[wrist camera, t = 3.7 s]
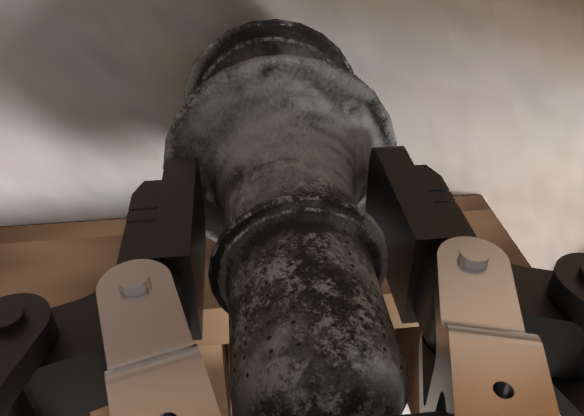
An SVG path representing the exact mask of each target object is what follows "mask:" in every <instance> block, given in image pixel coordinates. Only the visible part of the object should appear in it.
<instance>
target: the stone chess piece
mask: <svg viewBox="0 0 584 416" xmlns="http://www.w3.org/2000/svg"><path fill="white" fill-rule="evenodd" d="M390 146H397V142H396V138H395V134H394V130H393V126H392V122H391V118H390V116H389V114H388V113H387V111H386V110H385V108H384V106H383V105H382V103H381V101H380V100H379V98H378V97H377V95H376V93H375V92H374V91H373V90H372V89H371V88H369V87H368V86H367V85H366V84H365V83H364V82H363V81H361V80H360V79H359V78H358V77H357V76H356V75H354V74H353V70H352V68H351V66H350V64H349V63H348V61H347V60H346V58H345V56H344V55H343V53H342V52H341V50H340V49H339V48H338V47H337V46H336V45H335V44H334V43H333V42H331V41H330V40H329V39H328V38H327V37H326V36H325V35H323V34H322V33H320V32H318V31H316V30H314V29H312V28H310V27H307V26H305V25H303V24H301V23H296V22H290V21H284V20H279V19H273V20H262V21H252V22H249V23H246V24H244V25H241V26H238V27H236V28H233V29H230V30H228V31H227V32H225V33H224V34H222V35H221V36H220V37H218V38H217V39H215V40H214V41H213V42H211V43H210V44H209V45H208V46H207V47H206V48H205V50H204V51H203V52H202V53H201V55H200V56H199V57H198V58H197V60H196V61H195V62H194V64H193V67H192V69H191V71H190V74H189V76H188V79H187V81H186V84H185V94H184V104H183V105H182V106H181V107H180V108H179V110H178V111H177V113H176V115H175V117H174V120H173V122H172V125H171V127H170V130H169V132H168V134H167V137H166V140H165V152H164V164H165V160H166V159H172V158H189V157H197V158H198V163H199V170H200V178H201V186H202V195H203V203H204V211H205V224H206V237H207V238H209V239H211V240H212V241H214V242H216V244H215V246H214V248H213V250H212V252H211V256H210V263H209V269H208V276H209V282H210V287H211V292H212V293H213V295H214V297H215V299H216V300H217V302H218V304H219V305H220V307H221V308H222V309H223V310H224V311H225V312H226V313H228V314H229V365H230V398H231V403H232V408H233V412H234V416H393V415H402V413H403V411H404V409H405V407H406V404H407V401H408V393H409V380H408V370H407V367H406V364H405V361H404V357H403V354H402V351H401V348H400V345H399V342H398V339H397V336H396V333H395V330H394V327H393V324H392V321H391V318H390V315H389V312H388V309H387V306H386V303H385V300H384V297H383V294H382V291H381V286H382V283H383V281H384V279H385V276H386V274H387V271H388V261H389V250H388V247H387V243H386V240H385V236H384V233H383V231H382V230H381V229H380V227H379V226H378V224H377V223H376V222H375V220H374V219H373V217H372V216H370V215H369V214H368V213H366V191H367V180H368V169H369V158H370V152H371V149H372V148H373V147H390ZM163 169H164V165H163Z"/></svg>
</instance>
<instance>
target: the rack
mask: <svg viewBox="0 0 584 416" xmlns="http://www.w3.org/2000/svg"><path fill="white" fill-rule="evenodd" d="M453 197H454V199H455V203H457V204H458V205H459V207H460V209H461V211H462V212H463V214H464V216H465V217H466V219H467V221H468V222H469V224H470V226H471V227H472V229H473V231H474V233H475V234H476V236H477V238H481V239H484V240H487V241H489V242H491V243H493V244H495V245H496V246H498V247H499V248H500V249H502V250H503V251H504V252H505V253H506V255H507V256H508V258H509V261H510V263H511V264H515V265H518V266H523V267H530V268H532V267H531V266H530V265H529V263H528V262H527V260H526V259H525V257H524V256H523V254H522V253H521V252H520V250H519V249H518V247H517V246H516V244H515V243H514V241H513V240H512V239H511V237H510V236H509V234H508V233H507V231H506V230H505V229H504V227H503V226H502V224H501V223H500V221H499V220H498V218H497V217H496V216H495V214H494V213H493V211H492V210H491V208H490V207H489V206H488V204H487V203H486V201H485V200H484V198H483V197H482V195H468V196H453ZM125 224H126V219H112V220H98V221H83V222H68V223H53V224H38V225H24V226H9V227H0V298H1V297H3V296H7V295H11V294H16V293H32V294H36V295H39V296H41V297H43V298H44V299H45V300H46V301H47V302H48V303H49V305H50V308H52V307H56V306H59V305H62V304H65V303H69V302H72V301H75V300H78V299H81V298H84V297H86V296H88V295H90V294H92V293H94V292H95V291H96V286H97V283H98V281H99V280H100V278H101V277H102V276H103V275H104V274H105V273H106V272H107V271H108V270H109V269H111V268H112V267H114V266H116V263H117V259H118V254H119V250H120V246H121V241H122V237H123V232H124V228H125ZM215 244H216V242H214V241H212V240H211V239H209V238H207V237H206V246H205V276H204V305H203V334H202V340H193V343H194V344H197V345H198V347H199V350H200V352H201V355H202V358H203V361H204V364H205V368H206V371H207V374H208V377H209V380H210V383H211V386H212V389H213V392H214V395H215V398H216V401H217V404H218V407H219V410H220V413H221V416H234V412H233V408H232V403H231V398H230V365H229V314H228V313H226V312H225V311H224V310H223V309H222V308H221V307H220V305H219V304H218V302H217V300H216V299H215V297H214V295H213V293H212V292H211V287H210V282H209V276H208V269H209V263H210V256H211V252H212V250H213V248H214V246H215ZM381 291H382V294H383V297H384V300H385V303H386V306H387V309H388V312H389V315H390V318H391V321H392V324H393V327H394V330H395V333H396V336H397V339H398V342H399V345H400V348H401V351H402V354H403V357H404V361H405V364H406V367H407V370H408V380H409V393H408V401H407V403H408V406H409V409H410V412H411V414H414V413H420V400H419V341H420V336H421V329H420V326H419V323H418V322H417V323H405V324H402V322H401V319H400V316H399V313H398V311H397V308H396V305H395V302H394V299H393V296H392V293H391V290H390V288H389V285H388V282H387V279H386V276H385V279H384V281H383V283H382V286H381ZM85 416H110V411H109V405H108V406H105V407H103V408H100V409H97V410H95V411H92V412H89V413H87V414H85Z"/></svg>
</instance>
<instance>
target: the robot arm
mask: <svg viewBox="0 0 584 416" xmlns="http://www.w3.org/2000/svg"><path fill="white" fill-rule="evenodd" d="M366 213H368V214H369V215H370V216H372V217H373V219H374V220H375V222H376V223H377V224H378V226H379V227H380V229H381V230H382V231H383V233H384V236H385V240H386V243H387V247H388V250H389V261H388V271H387V274H386V279H387V282H388V285H389V288H390V290H391V293H392V296H393V299H394V302H395V305H396V308H397V311H398V313H399V316H400V319H401V322H402V324H405V323H417V322H418V323H419V326H420V329H421V336H420V341H419V400H420V413H414V414H403V415H393V416H560V415H561V416H584V253H572V254H567V255H565V256H563V257H561V258H560V259H558V261H557V262H556V264H555V267H554V270H553V271H549V270H543V269H536V268H530V267H523V266H518V265H515V264H511V263H510V261H509V258H508V256H507V255H506V253H505V252H504V251H503V250H502V249H500V248H499V247H498V246H496V245H495V244H493V243H491V242H489V241H487V240H484V239H481V238H477V236H476V234H475V233H474V231H473V229H472V227H471V226H470V224H469V222H468V221H467V219H466V217H465V216H464V214H463V212H462V211H461V209H460V207H459V205H458V204H457V203H455V199H454V197H453V195H452V194H451V192H449V188H448V187H447V185H446V183H445V182H444V180H443V178H442V177H441V176H440V175H439V174H438V173H436V172H435V171H434V170H432V169H431V168H430V167H428V166H427V165H414V164H413V162H412V160H411V158H410V156H409V154H408V153H407V151H406V149H405V147H404V146H390V147H373V148H372V149H371V152H370V158H369V169H368V180H367V191H366ZM205 246H206V224H205V211H204V203H203V195H202V186H201V178H200V170H199V163H198V158H197V157H189V158H172V159H166V160H165V164H164V171H163V177H162V180H155V181H144V182H143V183H142V184H141V185H140V186H139V187H138V189H137V190H136V191H135V192H134V193H133V194H132V197H131V202H130V206H129V212H128V215H127V219H126V224H125V228H124V232H123V237H122V241H121V246H120V250H119V254H118V259H117V263H116V266H114V267H112V268H111V269H109V270H108V271H107V272H106V273H105V274H104V275H103V276H102V277H101V278H100V280H99V281H98V283H97V286H96V291H95V292H94V293H92V294H90V295H88V296H86V297H84V298H81V299H78V300H75V301H72V302H69V303H65V304H62V305H59V306H56V307H52V308H50V305H49V303H48V302H47V301H46V300H45V299H44V298H43V297H41V296H39V295H36V294H32V293H16V294H11V295H7V296H3V297H1V298H0V416H85V414H87V413H89V412H92V411H95V410H97V409H100V408H103V407H105V406H108V405H109V411H110V416H221V413H220V410H219V407H218V404H217V401H216V398H215V395H214V392H213V389H212V386H211V383H210V380H209V377H208V374H207V371H206V368H205V364H204V361H203V358H202V355H201V352H200V350H199V347H198V345H197V344H194V343H193V340H202V334H203V305H204V276H205Z"/></svg>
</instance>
